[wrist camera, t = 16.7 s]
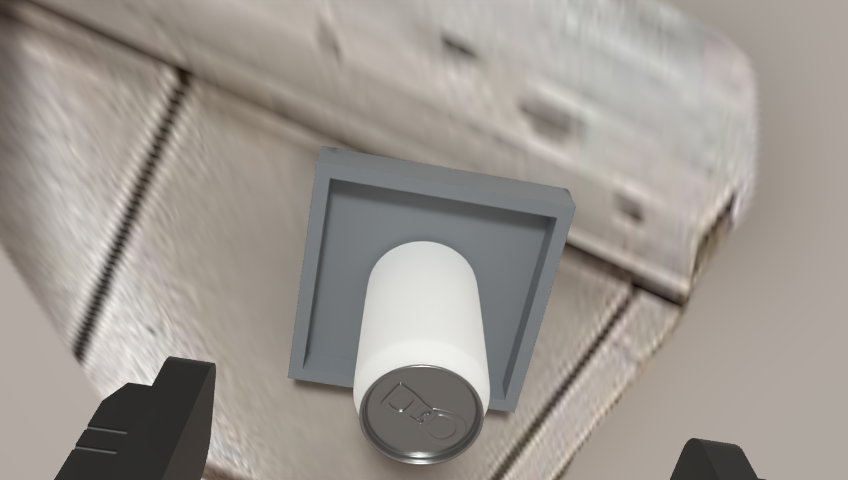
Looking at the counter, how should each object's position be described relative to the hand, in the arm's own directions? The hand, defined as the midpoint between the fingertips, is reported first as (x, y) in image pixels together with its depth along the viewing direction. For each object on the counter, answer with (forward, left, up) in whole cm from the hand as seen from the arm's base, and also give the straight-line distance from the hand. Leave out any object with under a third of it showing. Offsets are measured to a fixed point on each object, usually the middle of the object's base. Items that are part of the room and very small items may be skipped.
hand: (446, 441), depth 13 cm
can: (+2, -13, -30) cm, 32 cm away
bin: (+2, -13, -30) cm, 33 cm away
